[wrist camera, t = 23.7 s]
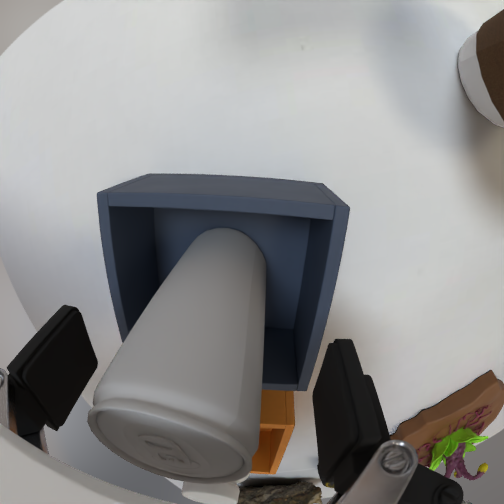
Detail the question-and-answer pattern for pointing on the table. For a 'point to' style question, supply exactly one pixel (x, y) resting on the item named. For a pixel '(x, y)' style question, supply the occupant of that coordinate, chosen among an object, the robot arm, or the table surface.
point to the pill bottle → (213, 492)
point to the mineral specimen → (281, 494)
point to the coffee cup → (485, 69)
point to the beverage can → (192, 368)
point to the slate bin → (251, 224)
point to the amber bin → (273, 430)
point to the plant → (454, 426)
